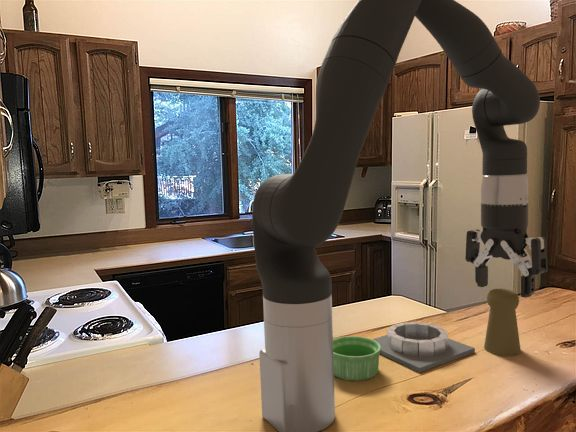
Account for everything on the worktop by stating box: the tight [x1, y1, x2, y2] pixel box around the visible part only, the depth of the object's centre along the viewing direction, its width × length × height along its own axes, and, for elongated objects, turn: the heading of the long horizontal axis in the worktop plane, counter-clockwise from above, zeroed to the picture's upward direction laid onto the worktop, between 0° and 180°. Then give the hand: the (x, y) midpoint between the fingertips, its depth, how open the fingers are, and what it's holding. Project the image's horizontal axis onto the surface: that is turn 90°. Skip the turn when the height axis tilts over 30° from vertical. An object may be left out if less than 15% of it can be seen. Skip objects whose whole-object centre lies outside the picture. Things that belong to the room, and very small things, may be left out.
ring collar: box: [386, 321, 449, 357], centre depth 85 cm, size 10×10×2 cm
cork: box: [483, 288, 522, 357], centre depth 83 cm, size 6×6×11 cm
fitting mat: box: [371, 334, 476, 374], centre depth 85 cm, size 14×14×1 cm
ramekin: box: [333, 335, 381, 382], centre depth 77 cm, size 9×9×4 cm
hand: (503, 291), depth 83 cm, fingers open, 8 cm apart
